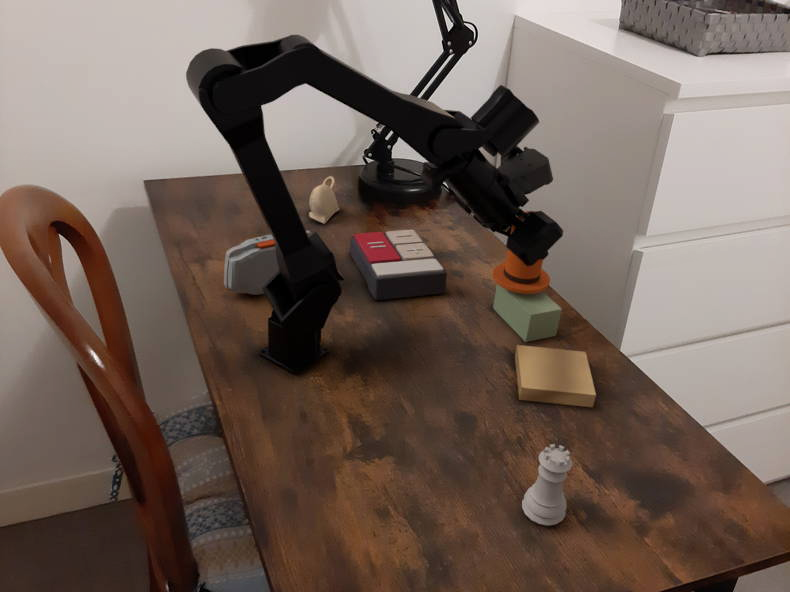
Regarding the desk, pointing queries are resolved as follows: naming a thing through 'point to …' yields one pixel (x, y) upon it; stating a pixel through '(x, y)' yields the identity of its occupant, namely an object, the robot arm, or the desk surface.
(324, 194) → the decorative ornament
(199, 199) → the desk surface
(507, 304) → the sage box
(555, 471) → the rook chess piece
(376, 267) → the calculator
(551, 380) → the stand
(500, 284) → the hat
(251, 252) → the handheld gaming console
